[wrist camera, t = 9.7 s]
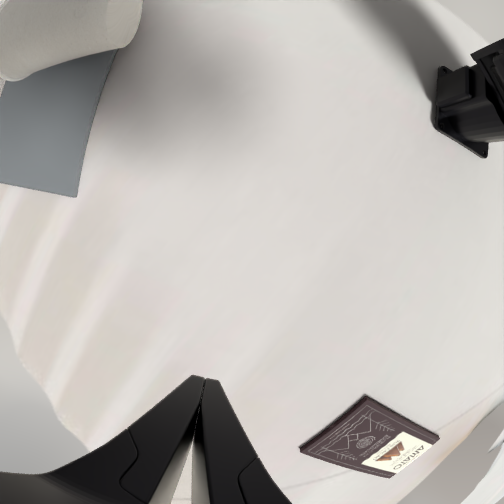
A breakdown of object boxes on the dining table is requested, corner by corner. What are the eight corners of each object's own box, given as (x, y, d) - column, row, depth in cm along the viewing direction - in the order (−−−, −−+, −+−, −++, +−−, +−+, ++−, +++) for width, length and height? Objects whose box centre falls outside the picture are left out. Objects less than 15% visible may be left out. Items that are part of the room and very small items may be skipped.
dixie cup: (135, 72, 17) (40, 81, 16) (157, -16, 13) (58, 1, 12) (81, 58, 10) (-24, 84, 9) (120, -61, 6) (3, -18, 5)
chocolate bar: (367, 399, 22) (440, 438, 25) (364, 393, 23) (437, 434, 26) (300, 452, 23) (389, 478, 26) (299, 445, 24) (387, 473, 27)
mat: (134, 11, 15) (133, 8, 14) (76, 197, 18) (73, 197, 18) (31, 29, 14) (28, 27, 14) (-14, 179, 17) (-18, 179, 17)
